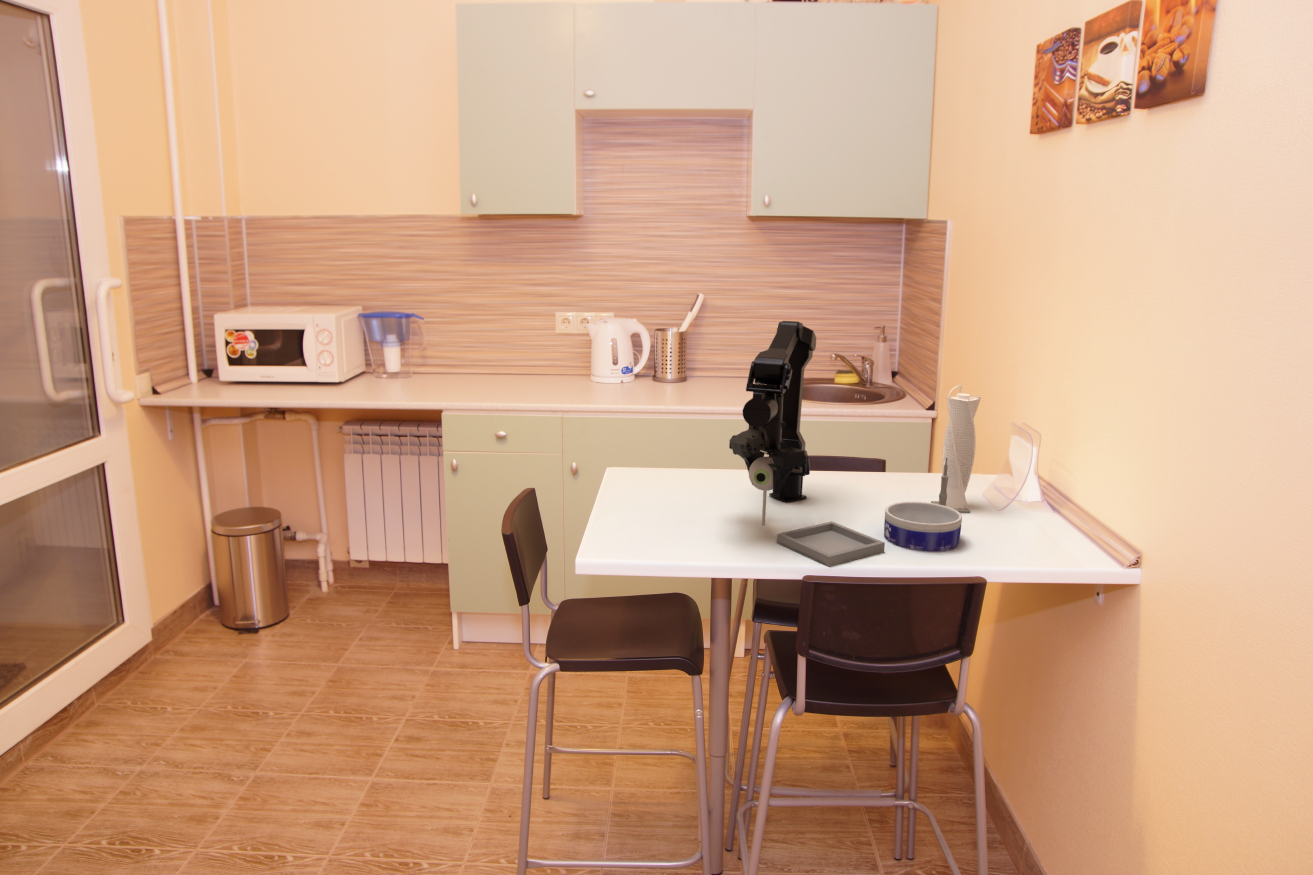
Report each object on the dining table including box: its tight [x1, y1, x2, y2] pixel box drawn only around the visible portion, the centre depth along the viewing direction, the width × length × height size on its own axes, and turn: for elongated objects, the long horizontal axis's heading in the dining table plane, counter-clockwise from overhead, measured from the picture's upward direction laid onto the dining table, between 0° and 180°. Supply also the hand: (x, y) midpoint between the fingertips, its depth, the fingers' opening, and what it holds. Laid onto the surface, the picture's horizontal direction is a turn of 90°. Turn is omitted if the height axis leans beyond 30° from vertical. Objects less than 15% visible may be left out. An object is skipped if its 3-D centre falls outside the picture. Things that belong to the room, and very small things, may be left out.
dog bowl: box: [883, 501, 963, 553], centre depth 188 cm, size 15×15×6 cm
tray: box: [776, 521, 886, 567], centre depth 183 cm, size 15×15×2 cm
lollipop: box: [748, 456, 774, 527], centre depth 192 cm, size 7×7×15 cm
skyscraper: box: [930, 384, 982, 514], centre depth 207 cm, size 8×8×28 cm
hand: (765, 489), depth 192 cm, fingers closed on lollipop, 7 cm apart
